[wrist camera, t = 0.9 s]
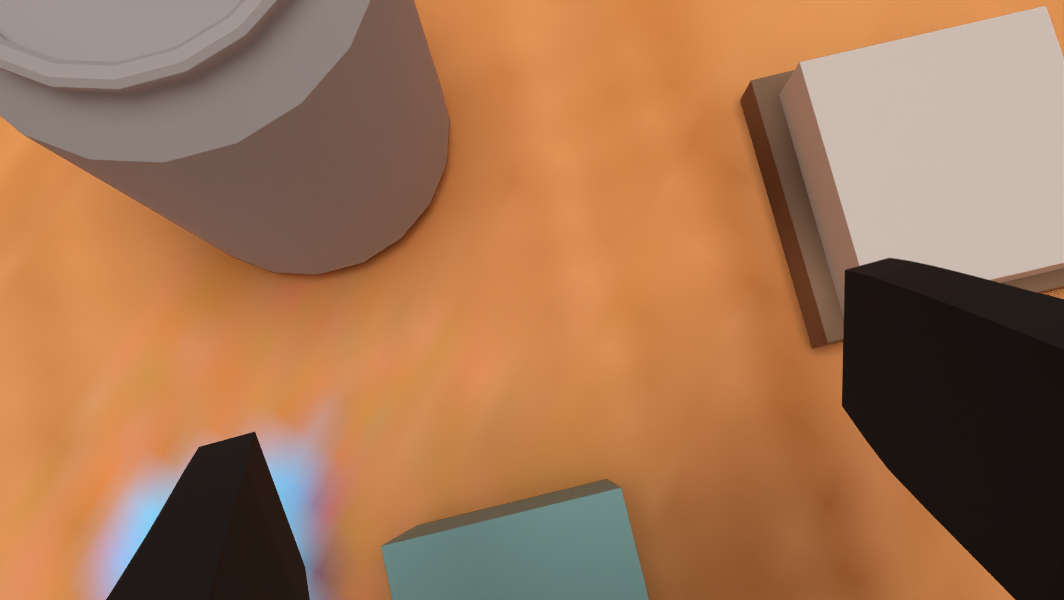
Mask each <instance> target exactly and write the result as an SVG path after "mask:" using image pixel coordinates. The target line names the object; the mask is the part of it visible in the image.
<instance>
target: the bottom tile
mask: <svg viewBox="0 0 1064 600" xmlns="http://www.w3.org/2000/svg"><path fill="white" fill-rule="evenodd" d="M793 72H794V70H793V71H789V72H785V73H781V74H777V75H772V76H768V77H764V78H760V79H755V80H751V81H750V83H749V85H748V87H747V89H746V91H745V92H744V94H743V96H742V98H741V100H740V101H741V105H742V108H743V111H744V115H745V118H746V122H747V125H748V129H749V132H750V136H751V139H752V142H753V146H754V149H755V153H756V156H757V160H758V163H759V166H760V170H761V173H762V177H763V180H764V184H765V187H766V191H767V194H768V197H769V201H770V204H771V208H772V211H773V215H774V218H775V222H776V225H777V228H778V232H779V235H780V239H781V242H782V246H783V249H784V252H785V256H786V259H787V263H788V266H789V270H790V273H791V277H792V280H793V283H794V287H795V290H796V294H797V297H798V301H799V304H800V308H801V311H802V314H803V318H804V321H805V325H806V328H807V332H808V335H809V338H810V342H811V345H812V348H816V347H820V346H825V345H829V344H833V343H837V342H841V341H843V335H844V318H843V314H842V311H841V307H840V304H839V301H838V297H837V294H836V290H835V287H834V283H833V280H832V276H831V273H830V269H829V266H828V262H827V259H826V256H825V252H824V249H823V245H822V242H821V238H820V235H819V231H818V228H817V224H816V221H815V217H814V214H813V211H812V207H811V204H810V200H809V197H808V193H807V190H806V186H805V183H804V179H803V176H802V172H801V169H800V166H799V162H798V159H797V155H796V152H795V148H794V145H793V141H792V138H791V134H790V131H789V127H788V124H787V121H786V117H785V114H784V110H783V107H782V103H781V100H780V96H779V94H780V92H781V91H782V89H783V87H784V86H785V84H786V83H787V81H788V80H789V78H790V77H791V75H792V73H793ZM1002 283H1003V284H1006V285H1010V286H1014V287H1018V288H1022V289H1025V290H1029V291H1033V292H1037V293H1044V292H1048V291H1052V290H1056V289H1060V288H1064V268H1063V269H1058V270H1054V271H1050V272H1045V273H1041V274H1037V275H1033V276H1028V277H1024V278H1020V279H1015V280H1011V281H1007V282H1002Z"/></svg>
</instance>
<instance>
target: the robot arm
mask: <svg viewBox="0 0 1064 600" xmlns="http://www.w3.org/2000/svg"><path fill="white" fill-rule="evenodd" d="M842 406H843V408H844V409H845V411H846V412H847V414H848V415H849V416H850V418H851V419H852V421H853V422H854V424H855V425H856V426H857V428H858V429H859V431H860V432H861V434H862V435H863V436H864V438H865V439H866V441H867V442H868V443H869V445H870V446H871V447H872V449H873V450H874V451H875V452H876V454H877V455H878V456H879V458H880V459H881V460H882V462H883V463H884V464H885V466H886V467H887V468H888V469H889V470H890V471H891V472H892V473H893V475H894V476H895V477H896V478H897V479H898V480H899V481H900V482H901V483H902V484H903V485H904V486H905V487H906V488H907V489H908V490H909V491H910V492H911V494H912V495H913V496H914V497H915V498H916V499H917V500H918V501H919V502H920V503H921V504H922V505H923V506H924V507H925V508H926V509H927V510H928V511H929V512H930V513H931V514H932V515H933V516H934V517H935V518H936V519H937V520H938V521H939V522H940V523H941V524H942V525H943V526H944V527H945V529H946V530H947V531H948V532H949V533H950V534H951V535H952V536H953V537H954V538H955V539H956V540H957V541H958V542H959V543H960V544H961V545H962V546H963V547H964V548H965V549H966V550H967V551H968V552H969V553H970V554H971V555H972V556H973V557H974V558H975V559H976V560H977V561H978V562H979V563H980V564H981V565H982V566H983V567H984V568H985V569H986V570H987V571H988V572H989V573H990V574H991V575H992V576H993V577H994V578H995V579H996V580H997V581H998V582H999V583H1000V584H1001V585H1002V586H1003V587H1004V588H1005V589H1006V590H1007V591H1008V593H1009V594H1010V595H1011V596H1012V597H1013V598H1014V599H1015V600H1064V299H1060V298H1056V297H1052V296H1048V295H1045V294H1041V293H1037V292H1033V291H1029V290H1025V289H1022V288H1018V287H1014V286H1010V285H1006V284H1003V283H999V282H995V281H991V280H987V279H984V278H980V277H976V276H972V275H968V274H964V273H960V272H956V271H952V270H948V269H944V268H940V267H936V266H931V265H927V264H922V263H918V262H913V261H907V260H901V259H895V258H887V259H883V260H879V261H876V262H872V263H868V264H865V265H861V266H857V267H854V268H850V269H846V270H845V284H844V335H843V385H842ZM106 600H310V599H309V592H308V585H307V578H306V571H305V566H304V563H303V560H302V558H301V555H300V552H299V550H298V547H297V544H296V541H295V539H294V536H293V533H292V531H291V528H290V525H289V523H288V520H287V517H286V514H285V512H284V509H283V506H282V504H281V501H280V498H279V495H278V493H277V490H276V487H275V485H274V482H273V479H272V477H271V474H270V471H269V468H268V466H267V463H266V460H265V458H264V455H263V452H262V449H261V447H260V444H259V441H258V439H257V436H256V433H255V432H252V433H249V434H245V435H241V436H238V437H234V438H230V439H227V440H223V441H219V442H216V443H212V444H208V445H205V446H201V447H199V448H198V450H197V451H196V453H195V454H194V456H193V457H192V459H191V461H190V462H189V464H188V465H187V467H186V469H185V470H184V472H183V474H182V475H181V477H180V479H179V481H178V482H177V484H176V486H175V488H174V489H173V491H172V493H171V494H170V496H169V498H168V500H167V501H166V503H165V505H164V507H163V508H162V510H161V512H160V513H159V515H158V517H157V518H156V520H155V522H154V524H153V525H152V527H151V529H150V530H149V532H148V534H147V535H146V537H145V539H144V540H143V542H142V544H141V545H140V547H139V548H138V550H137V552H136V553H135V555H134V556H133V558H132V560H131V561H130V563H129V564H128V566H127V568H126V569H125V571H124V572H123V574H122V576H121V577H120V579H119V580H118V582H117V584H116V585H115V587H114V588H113V590H112V592H111V593H110V595H109V596H108V598H107V599H106Z"/></svg>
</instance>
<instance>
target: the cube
mask: <svg viewBox="0 0 1064 600" xmlns="http://www.w3.org/2000/svg"><path fill="white" fill-rule="evenodd" d="M381 548H382V553H383V557H384V562H385V567H386V572H387V577H388V582H389V587H390V591H391V596H392V600H649V597H648V593H647V589H646V585H645V581H644V577H643V573H642V569H641V565H640V561H639V557H638V553H637V549H636V545H635V541H634V537H633V533H632V529H631V525H630V521H629V517H628V513H627V509H626V505H625V501H624V497H623V493H622V489H621V487H619V486H617V485H616V484H614V483H613V482H611V481H609V480H608V479H606V480H601V481H597V482H593V483H589V484H585V485H581V486H577V487H573V488H569V489H564V490H560V491H556V492H552V493H548V494H544V495H540V496H536V497H532V498H528V499H523V500H519V501H515V502H511V503H507V504H503V505H499V506H495V507H491V508H487V509H482V510H478V511H474V512H470V513H466V514H462V515H458V516H454V517H450V518H446V519H441V520H437V521H433V522H429V523H425V524H421V525H417V526H415V527H414V528H412V529H410V530H408V531H407V532H405V533H403V534H401V535H400V536H398V537H396V538H395V539H393V540H391V541H389V542H388V543H386V544H384V545H383V546H381Z"/></svg>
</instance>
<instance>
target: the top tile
mask: <svg viewBox="0 0 1064 600" xmlns="http://www.w3.org/2000/svg"><path fill="white" fill-rule="evenodd" d="M779 96H780V100H781V103H782V107H783V110H784V114H785V117H786V121H787V124H788V127H789V131H790V134H791V138H792V141H793V145H794V148H795V152H796V155H797V159H798V162H799V166H800V169H801V172H802V176H803V179H804V183H805V186H806V190H807V193H808V197H809V200H810V204H811V207H812V211H813V214H814V217H815V221H816V224H817V228H818V231H819V235H820V238H821V242H822V245H823V249H824V252H825V256H826V259H827V262H828V266H829V269H830V273H831V276H832V280H833V283H834V287H835V290H836V294H837V297H838V301H839V304H840V307H841V311H842V314H843V318H844V284H845V270H846V269H850V268H854V267H857V266H861V265H865V264H868V263H872V262H876V261H879V260H883V259H887V258H895V259H901V260H907V261H913V262H918V263H922V264H927V265H931V266H936V267H940V268H944V269H948V270H952V271H956V272H960V273H964V274H968V275H972V276H976V277H980V278H984V279H987V280H991V281H995V282H999V283H1002V282H1007V281H1011V280H1015V279H1020V278H1024V277H1028V276H1033V275H1037V274H1041V273H1045V272H1050V271H1054V270H1058V269H1063V268H1064V57H1063V54H1062V51H1061V49H1060V46H1059V43H1058V40H1057V37H1056V34H1055V31H1054V28H1053V25H1052V22H1051V19H1050V17H1049V14H1048V11H1047V8H1046V6H1043V7H1039V8H1035V9H1030V10H1026V11H1022V12H1017V13H1013V14H1008V15H1004V16H1000V17H995V18H991V19H987V20H982V21H978V22H973V23H969V24H965V25H960V26H956V27H952V28H947V29H943V30H939V31H934V32H930V33H925V34H921V35H917V36H912V37H908V38H904V39H899V40H895V41H890V42H886V43H882V44H877V45H873V46H869V47H864V48H860V49H856V50H851V51H847V52H842V53H838V54H834V55H829V56H825V57H821V58H816V59H812V60H807V61H803V62H800V63H799V64H798V66H797V67H796V69H795V70H794V72H793V73H792V75H791V77H790V78H789V80H788V81H787V83H786V84H785V86H784V87H783V89H782V91H781V92H780V94H779Z"/></svg>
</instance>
